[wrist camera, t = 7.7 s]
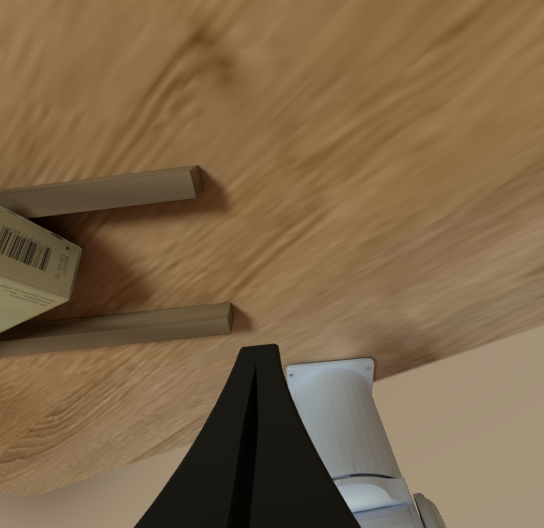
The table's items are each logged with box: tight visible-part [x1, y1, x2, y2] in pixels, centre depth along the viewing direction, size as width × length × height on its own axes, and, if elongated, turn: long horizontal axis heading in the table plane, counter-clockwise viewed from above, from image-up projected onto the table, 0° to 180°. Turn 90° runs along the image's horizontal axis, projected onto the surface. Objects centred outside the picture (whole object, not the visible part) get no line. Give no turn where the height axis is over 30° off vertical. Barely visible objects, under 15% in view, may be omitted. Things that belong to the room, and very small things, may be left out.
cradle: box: [0, 165, 234, 357], centre depth 19 cm, size 12×24×2 cm, turn 97°
